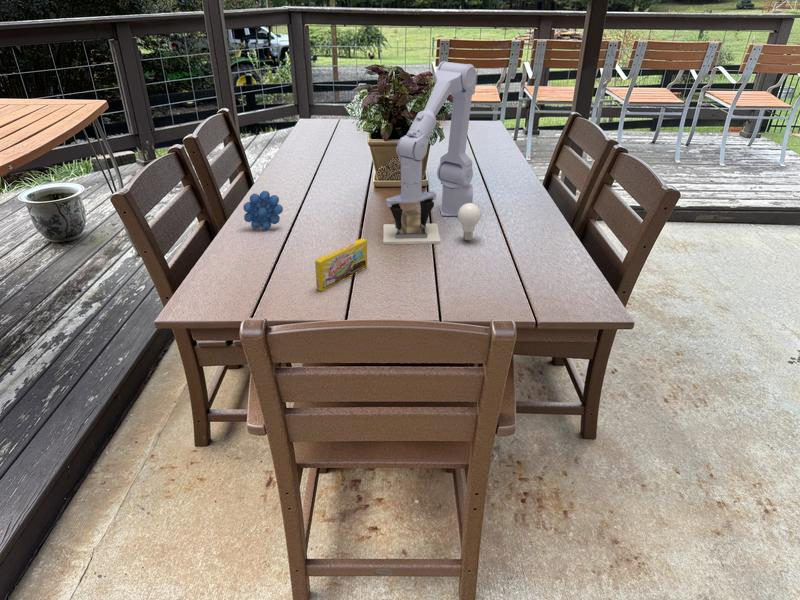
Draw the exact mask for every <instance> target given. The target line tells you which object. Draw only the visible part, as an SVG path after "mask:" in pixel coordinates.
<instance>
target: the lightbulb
mask: <svg viewBox="0 0 800 600" xmlns="http://www.w3.org/2000/svg"><path fill="white" fill-rule="evenodd" d="M457 217H458V220H459V222H460V224H461V226H462V230H463V236H462V239H463V240H465V241H467V242H469V241H471V240H473V235H474V231H475V227H476V225H477V224H478V223H479V221H480V220H481V217H482V212H481V208H480V207H479V206H478V205H477V204H475V203H473V202H472V203H466V204H464V205H462V206H461V207H460V209H459V211H458V216H457Z"/></svg>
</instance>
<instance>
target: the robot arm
mask: <svg viewBox="0 0 800 600" xmlns="http://www.w3.org/2000/svg"><path fill="white" fill-rule="evenodd" d="M477 75H478V72H477V70H476V68H475V66H474V65H473V64H471V63H468V64H467V63H459V62H458V63H457V62H449V61H446V60H443V61H441V62H440V63H439V64H438V65H437V68H436V70H435V72H434V87H433V88H432V91H431V93H430V95H429V98H428V100H427V103H426V105H425V107H424V109H423V110H422V111H419V112H417V114H416V116H415V118H414V119H413V122H412V123H411V125H410V126H409V130H408V131H407V133H406V135H403V136H402V137H400V139H398V141H397V145H396V149H395V151H396V154H397V157H398V162H399V164H400V192H401V193H400V194H397V195H395V196H391V197H388V198H387V197H386V198H385V205H386V207H388V208H389V209H390V211H391V214H392V215H393V219H394V222H395V223H396V228H397V229H398V230H401V223H402V211H404V210H403V209H402V208H401V205H406V204H412V203H419V207H420V223H421V224H422V225H423V226H425V225H426V224H427V221H428V218H429V216H430V213H431V211H432V209H434V206H435V202H434V201H436V200H437V193H436V192H435V191H422V189H423V188H422V187H423V186H422V185H423V184H422V183H423V159H424V158H425V156H426V155H427V153H428V152H427V151H428V145H429V139H430V137H431V135H432V133H433V131H434V129H435V127H436V125H437V119H436V116H437V115H438V113H439V112H440V110H441V108H442V106H443V105H444V103H446V101H447V99H448V98H449V96H450V95H451V96H452V98H453V99H452V109H451V117H450V125H449V126H450V128H449V135H448V137H449V138H448V147H447V153H444V155H442V156H440V159H439V163H438V167H437V170H436V171H437V172H436V176H437V178H438V180H439V181H440V184H441V185H442V194H441V195H442V197H441V204H440V205H439V210H440V214H441V217H458V211H459V209H460V207H461V206H462V205H464V204H466V203H473V200H474V198H473V196H474V188H473V184H472V183H471V182H472V180H473V177H474V171H473V160H472V159H471V158H470V157H469V155H467V153H466V150H467V140H468V131H469V122H470V115H471V106H472V98H473V95H475V93H476V91H475V90H476V86H477V85H476V83H477ZM395 223H394V224H395Z"/></svg>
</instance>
